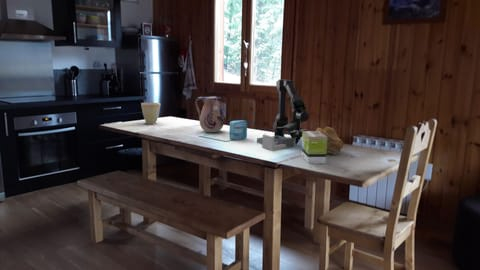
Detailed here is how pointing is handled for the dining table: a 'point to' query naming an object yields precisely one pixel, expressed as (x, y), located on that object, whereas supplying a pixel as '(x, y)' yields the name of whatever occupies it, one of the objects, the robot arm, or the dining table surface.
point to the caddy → (287, 141)
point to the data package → (238, 130)
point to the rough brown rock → (332, 140)
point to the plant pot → (150, 112)
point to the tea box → (314, 146)
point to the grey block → (271, 143)
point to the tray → (260, 140)
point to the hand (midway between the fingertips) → (295, 143)
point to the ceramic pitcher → (210, 114)
